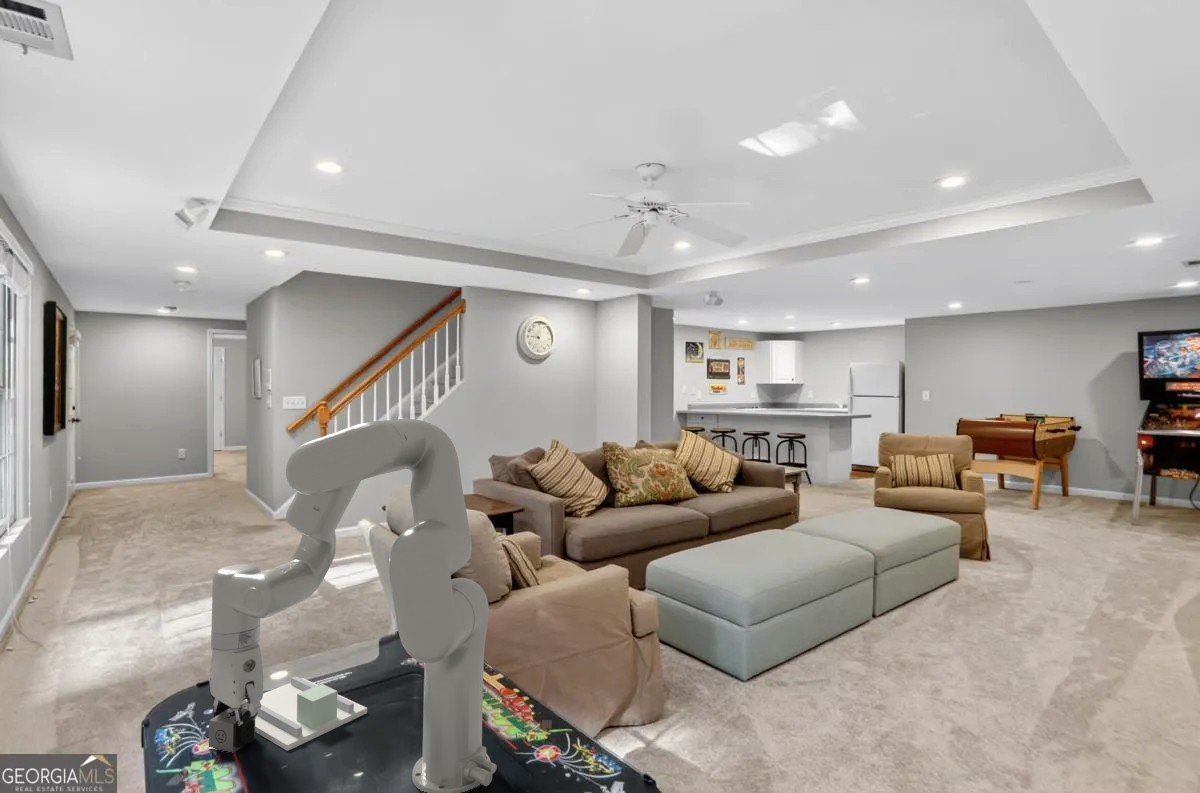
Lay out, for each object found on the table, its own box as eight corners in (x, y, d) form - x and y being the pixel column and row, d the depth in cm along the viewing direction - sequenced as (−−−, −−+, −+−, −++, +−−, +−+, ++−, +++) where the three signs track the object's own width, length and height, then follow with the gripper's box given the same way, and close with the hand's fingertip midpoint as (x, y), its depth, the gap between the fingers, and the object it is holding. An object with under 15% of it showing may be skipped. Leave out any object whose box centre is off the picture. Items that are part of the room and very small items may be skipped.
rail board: (366, 713, 122) (367, 682, 122) (287, 751, 108) (287, 716, 108) (302, 682, 134) (303, 654, 134) (224, 713, 120) (224, 682, 120)
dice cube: (255, 737, 112) (255, 710, 112) (232, 753, 107) (233, 724, 107) (231, 734, 113) (232, 706, 113) (208, 749, 108) (209, 720, 108)
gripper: (283, 641, 109) (281, 744, 109) (233, 620, 118) (231, 714, 118) (238, 655, 103) (236, 764, 103) (189, 631, 112) (187, 731, 112)
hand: (233, 736), depth 111 cm, fingers closed on dice cube, 6 cm apart
